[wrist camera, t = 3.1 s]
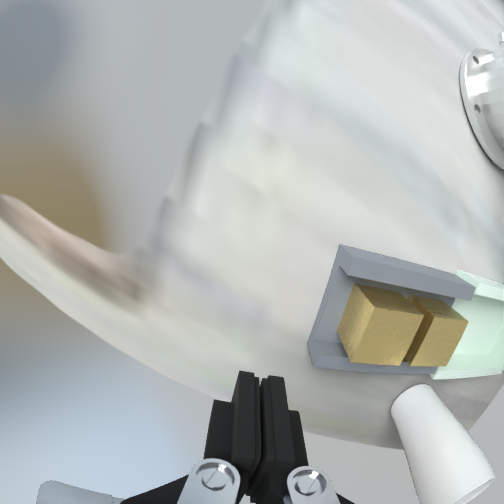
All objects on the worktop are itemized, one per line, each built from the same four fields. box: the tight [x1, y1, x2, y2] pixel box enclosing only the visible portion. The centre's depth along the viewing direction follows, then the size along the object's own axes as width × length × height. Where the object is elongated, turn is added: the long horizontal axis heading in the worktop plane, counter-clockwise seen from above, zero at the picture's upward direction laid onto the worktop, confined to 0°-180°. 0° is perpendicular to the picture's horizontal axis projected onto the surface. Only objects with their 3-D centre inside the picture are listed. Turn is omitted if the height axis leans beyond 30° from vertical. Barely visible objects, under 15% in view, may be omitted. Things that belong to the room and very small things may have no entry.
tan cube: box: [404, 294, 469, 366], centre depth 17 cm, size 4×4×4 cm
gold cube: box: [337, 283, 424, 366], centre depth 17 cm, size 4×4×4 cm
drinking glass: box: [391, 384, 496, 504], centre depth 16 cm, size 7×7×15 cm
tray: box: [429, 269, 504, 380], centre depth 19 cm, size 9×13×3 cm
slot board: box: [307, 244, 476, 374], centre depth 19 cm, size 8×12×3 cm
